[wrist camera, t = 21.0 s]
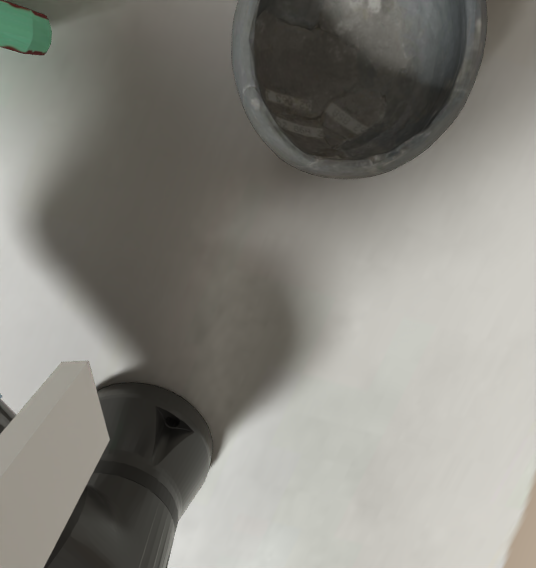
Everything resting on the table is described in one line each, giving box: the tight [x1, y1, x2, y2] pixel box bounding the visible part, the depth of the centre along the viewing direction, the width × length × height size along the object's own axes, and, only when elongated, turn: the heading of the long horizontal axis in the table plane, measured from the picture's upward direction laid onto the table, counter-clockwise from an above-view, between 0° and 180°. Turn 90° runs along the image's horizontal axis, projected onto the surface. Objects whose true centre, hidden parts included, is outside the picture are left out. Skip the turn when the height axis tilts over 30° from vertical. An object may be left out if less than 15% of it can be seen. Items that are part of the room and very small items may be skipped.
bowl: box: [231, 0, 487, 179], centre depth 28 cm, size 15×15×10 cm
